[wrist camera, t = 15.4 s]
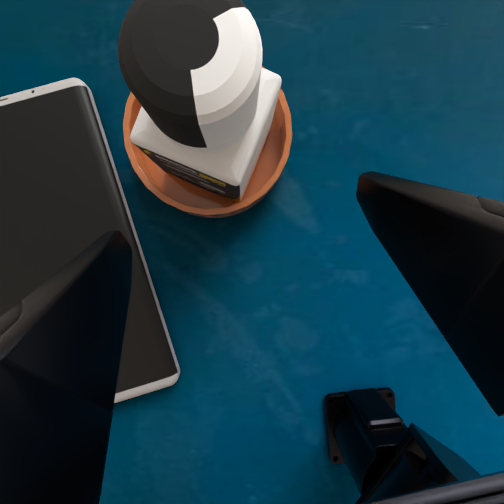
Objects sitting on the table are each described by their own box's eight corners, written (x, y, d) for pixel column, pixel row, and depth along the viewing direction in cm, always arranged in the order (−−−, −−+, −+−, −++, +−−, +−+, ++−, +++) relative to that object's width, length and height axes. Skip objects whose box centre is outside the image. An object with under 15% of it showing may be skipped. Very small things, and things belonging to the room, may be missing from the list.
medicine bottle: (164, 173, 21) (65, 85, 9) (194, 96, 21) (133, -91, 9) (240, 204, 22) (237, 158, 10) (270, 129, 22) (305, -11, 10)
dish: (290, 212, 23) (298, 207, 20) (147, 224, 22) (132, 221, 19) (279, 66, 22) (284, 39, 19) (132, 75, 22) (114, 48, 19)
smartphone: (43, 418, 22) (26, 433, 21) (-59, 127, 21) (-86, 116, 19) (184, 374, 23) (179, 385, 21) (92, 85, 21) (79, 71, 20)
